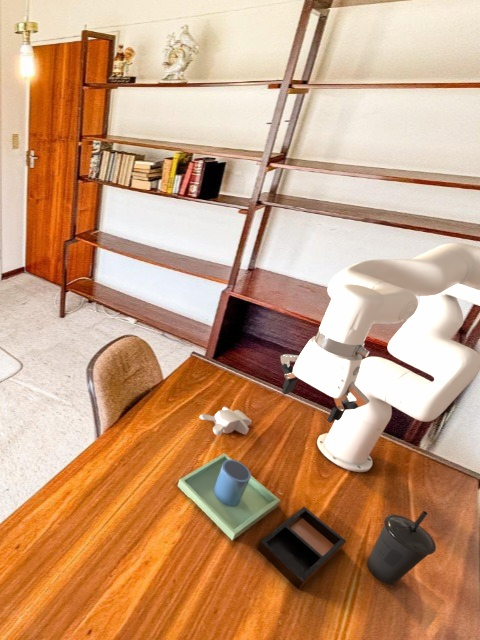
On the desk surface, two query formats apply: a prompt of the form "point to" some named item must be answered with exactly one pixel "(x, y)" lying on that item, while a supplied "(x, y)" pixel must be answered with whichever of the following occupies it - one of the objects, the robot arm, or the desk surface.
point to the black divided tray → (301, 546)
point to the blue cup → (231, 482)
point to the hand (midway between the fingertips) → (308, 405)
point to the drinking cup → (399, 548)
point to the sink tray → (227, 518)
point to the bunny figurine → (228, 421)
